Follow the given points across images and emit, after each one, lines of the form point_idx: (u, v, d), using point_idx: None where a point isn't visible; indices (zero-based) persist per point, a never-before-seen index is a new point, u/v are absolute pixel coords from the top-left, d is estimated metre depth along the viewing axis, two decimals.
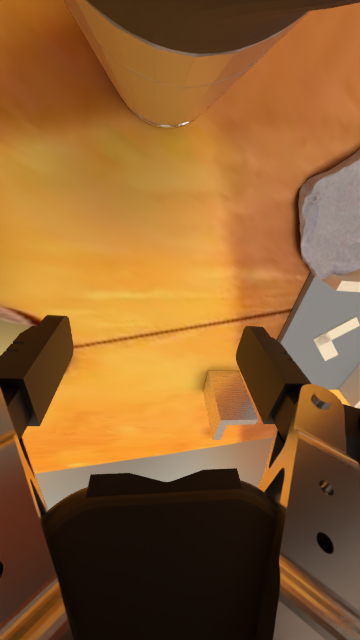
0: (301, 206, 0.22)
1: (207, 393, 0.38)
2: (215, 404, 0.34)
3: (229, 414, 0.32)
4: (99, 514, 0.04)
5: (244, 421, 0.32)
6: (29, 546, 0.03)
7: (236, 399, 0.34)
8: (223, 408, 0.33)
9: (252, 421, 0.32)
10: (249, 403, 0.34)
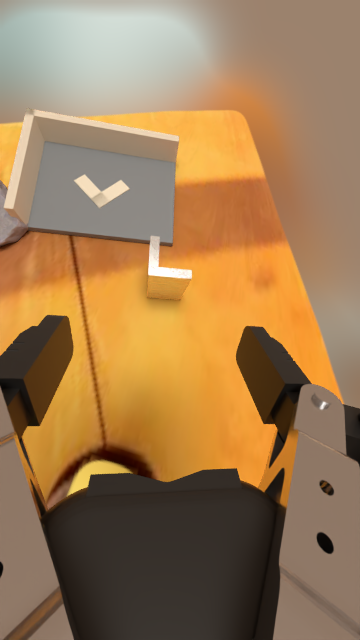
0: None
1: (168, 294, 0.35)
2: (151, 283, 0.30)
3: None
4: (99, 514, 0.04)
5: (153, 249, 0.29)
6: (29, 546, 0.03)
7: None
8: None
9: (154, 240, 0.29)
10: None
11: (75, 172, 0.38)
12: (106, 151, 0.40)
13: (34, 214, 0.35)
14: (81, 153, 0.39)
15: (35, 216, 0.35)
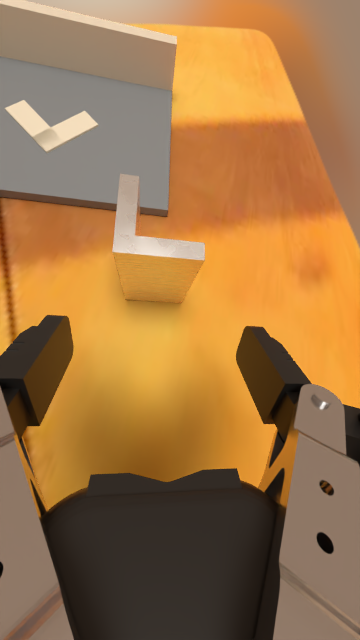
0: None
1: (161, 294, 0.20)
2: (124, 272, 0.16)
3: None
4: (99, 514, 0.04)
5: (125, 199, 0.14)
6: (28, 547, 0.03)
7: None
8: None
9: (127, 183, 0.14)
10: None
11: (8, 97, 0.23)
12: (62, 68, 0.25)
13: None
14: (21, 69, 0.24)
15: None
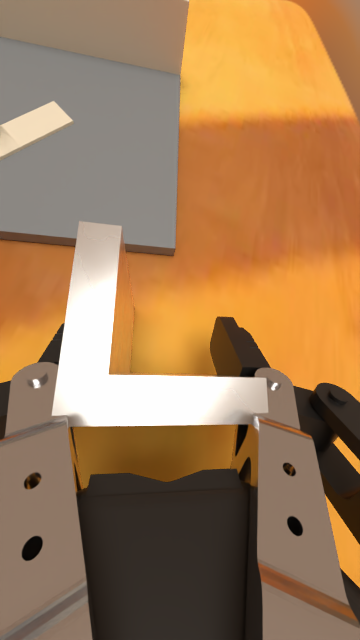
0: None
1: None
2: None
3: None
4: (99, 514, 0.04)
5: (88, 282, 0.06)
6: (65, 531, 0.03)
7: None
8: None
9: (95, 243, 0.06)
10: None
11: None
12: (23, 41, 0.18)
13: None
14: None
15: None
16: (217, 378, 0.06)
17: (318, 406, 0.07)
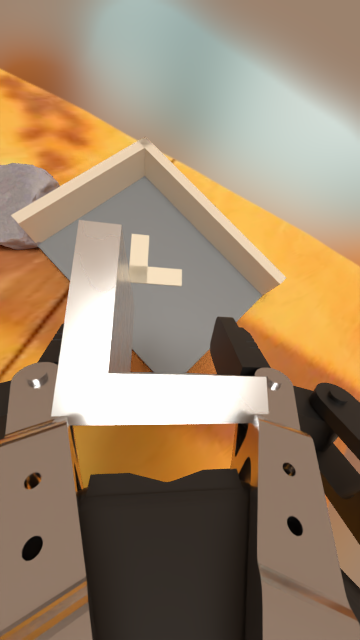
0: None
1: None
2: None
3: None
4: (99, 514, 0.04)
5: (88, 281, 0.06)
6: (65, 531, 0.03)
7: None
8: None
9: (95, 242, 0.06)
10: None
11: (142, 226, 0.29)
12: (196, 228, 0.30)
13: (57, 237, 0.27)
14: (169, 212, 0.30)
15: (56, 240, 0.27)
16: (217, 377, 0.06)
17: (318, 406, 0.07)
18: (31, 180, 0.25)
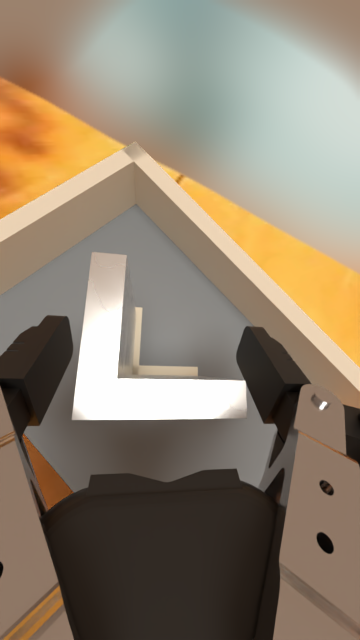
0: None
1: None
2: None
3: None
4: (99, 514, 0.04)
5: (100, 303, 0.07)
6: (28, 547, 0.03)
7: None
8: None
9: (105, 270, 0.08)
10: None
11: None
12: (219, 289, 0.18)
13: None
14: (175, 264, 0.18)
15: None
16: (205, 381, 0.07)
17: None
18: None
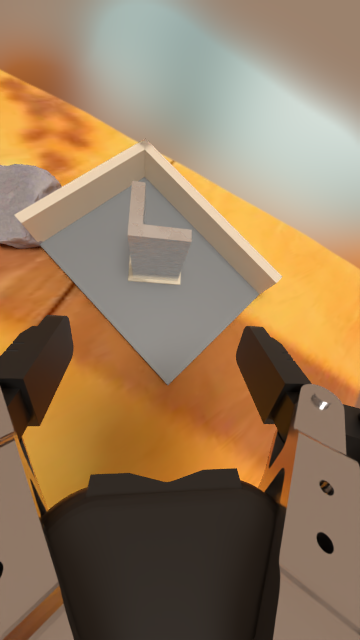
0: None
1: (161, 272, 0.26)
2: (134, 252, 0.21)
3: None
4: (99, 514, 0.04)
5: (135, 199, 0.20)
6: (28, 547, 0.03)
7: None
8: None
9: (137, 187, 0.20)
10: None
11: None
12: (195, 228, 0.31)
13: (59, 237, 0.27)
14: (168, 212, 0.30)
15: (57, 239, 0.27)
16: (175, 228, 0.20)
17: None
18: (34, 181, 0.25)
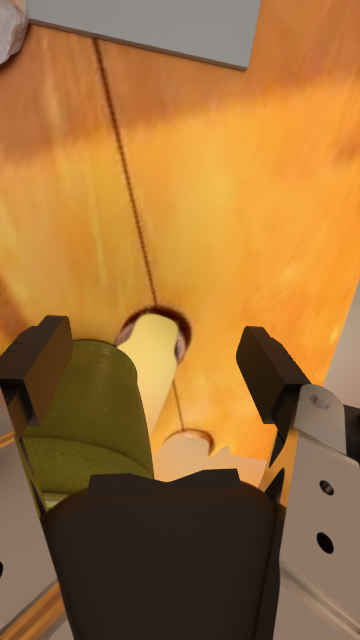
0: None
1: None
2: None
3: None
4: (99, 514, 0.04)
5: None
6: (29, 546, 0.03)
7: None
8: None
9: None
10: None
11: None
12: None
13: None
14: None
15: None
16: None
17: None
18: None
